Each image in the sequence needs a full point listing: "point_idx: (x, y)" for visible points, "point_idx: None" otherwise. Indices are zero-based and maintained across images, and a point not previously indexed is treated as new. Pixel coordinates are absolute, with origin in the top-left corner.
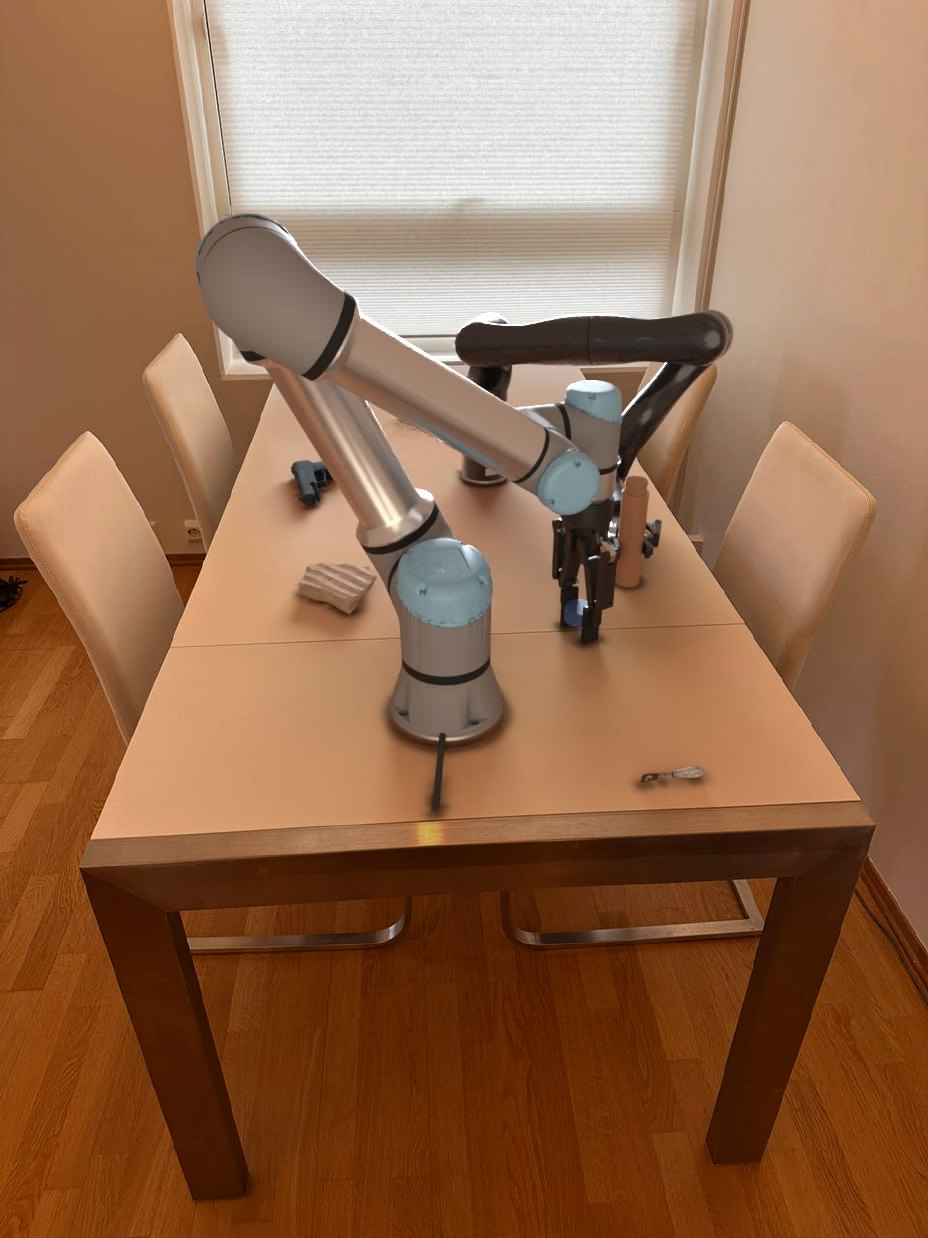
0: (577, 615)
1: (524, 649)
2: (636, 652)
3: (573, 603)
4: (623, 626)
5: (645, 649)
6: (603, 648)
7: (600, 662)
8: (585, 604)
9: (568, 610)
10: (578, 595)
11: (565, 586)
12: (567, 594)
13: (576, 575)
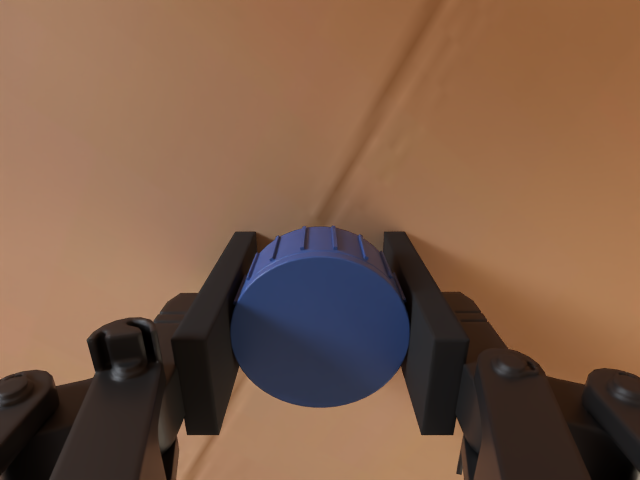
0: (377, 388)
1: (311, 450)
2: (574, 151)
3: (268, 349)
4: (384, 58)
5: (588, 99)
6: (462, 248)
7: (521, 308)
8: (311, 304)
9: (317, 404)
10: (221, 304)
11: (177, 430)
12: (221, 396)
13: (149, 435)
